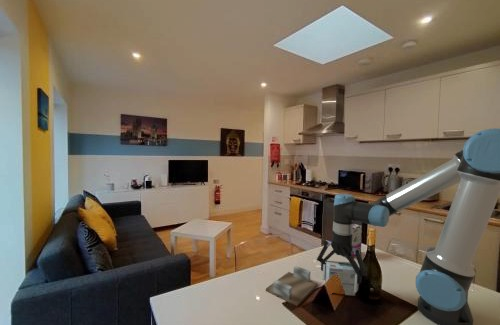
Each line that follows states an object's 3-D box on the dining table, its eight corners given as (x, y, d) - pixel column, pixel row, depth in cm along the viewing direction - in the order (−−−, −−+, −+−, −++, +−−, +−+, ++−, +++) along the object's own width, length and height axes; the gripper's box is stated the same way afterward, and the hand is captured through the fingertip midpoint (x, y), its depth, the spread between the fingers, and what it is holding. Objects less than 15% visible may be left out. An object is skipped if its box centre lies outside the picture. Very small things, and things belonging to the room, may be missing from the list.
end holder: (317, 285, 99) (318, 274, 99) (297, 306, 85) (297, 292, 85) (288, 273, 108) (289, 263, 108) (265, 290, 94) (266, 278, 94)
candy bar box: (353, 251, 136) (354, 223, 135) (361, 255, 131) (362, 226, 131) (339, 255, 130) (341, 225, 130) (347, 258, 126) (349, 228, 125)
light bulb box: (350, 286, 99) (351, 261, 99) (355, 296, 93) (357, 269, 92) (324, 284, 100) (325, 259, 100) (327, 293, 94) (329, 267, 93)
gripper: (377, 237, 91) (374, 292, 92) (317, 223, 106) (315, 270, 107) (373, 243, 85) (369, 301, 86) (310, 227, 100) (308, 277, 101)
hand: (339, 284), depth 96 cm, fingers closed on light bulb box, 12 cm apart
